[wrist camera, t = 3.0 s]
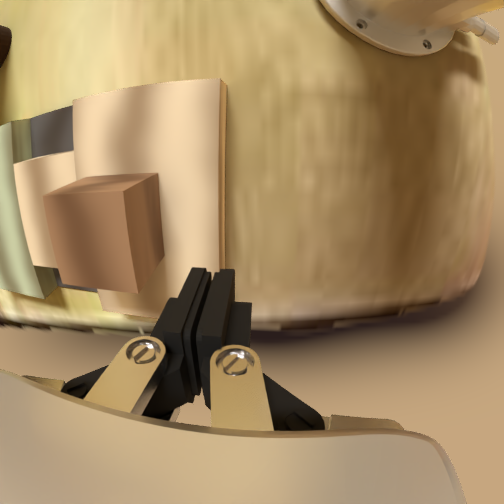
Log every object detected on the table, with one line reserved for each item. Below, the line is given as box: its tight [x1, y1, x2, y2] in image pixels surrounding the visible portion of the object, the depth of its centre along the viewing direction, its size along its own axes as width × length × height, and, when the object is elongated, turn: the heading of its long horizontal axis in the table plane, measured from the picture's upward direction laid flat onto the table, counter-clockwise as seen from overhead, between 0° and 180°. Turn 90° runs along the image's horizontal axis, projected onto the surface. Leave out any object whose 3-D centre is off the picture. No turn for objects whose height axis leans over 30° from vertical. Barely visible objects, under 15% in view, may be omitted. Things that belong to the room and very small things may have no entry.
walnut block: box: [43, 173, 165, 294], centre depth 16 cm, size 6×6×5 cm
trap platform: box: [0, 79, 227, 319], centre depth 18 cm, size 31×18×7 cm, turn 88°
